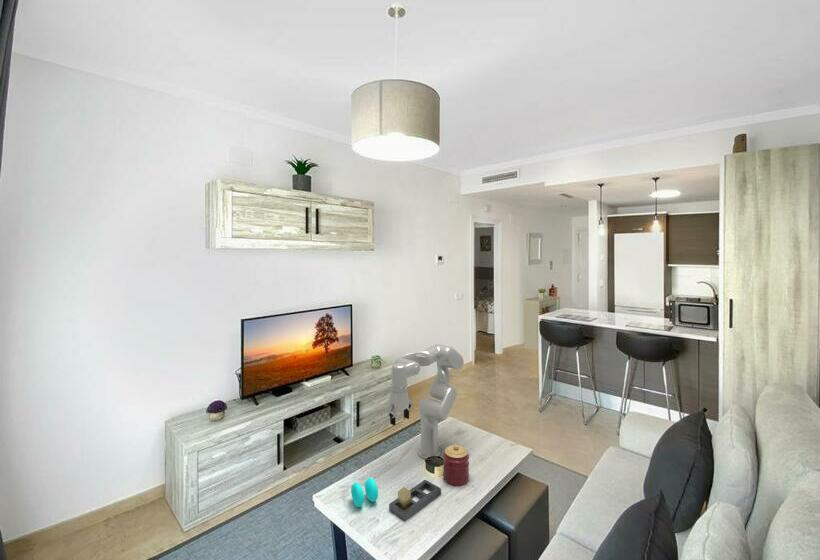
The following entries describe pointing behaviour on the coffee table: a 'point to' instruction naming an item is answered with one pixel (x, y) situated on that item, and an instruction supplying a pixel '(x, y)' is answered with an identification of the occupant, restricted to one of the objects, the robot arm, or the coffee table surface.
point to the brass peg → (404, 498)
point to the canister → (456, 465)
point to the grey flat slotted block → (418, 505)
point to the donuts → (359, 494)
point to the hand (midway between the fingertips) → (399, 421)
